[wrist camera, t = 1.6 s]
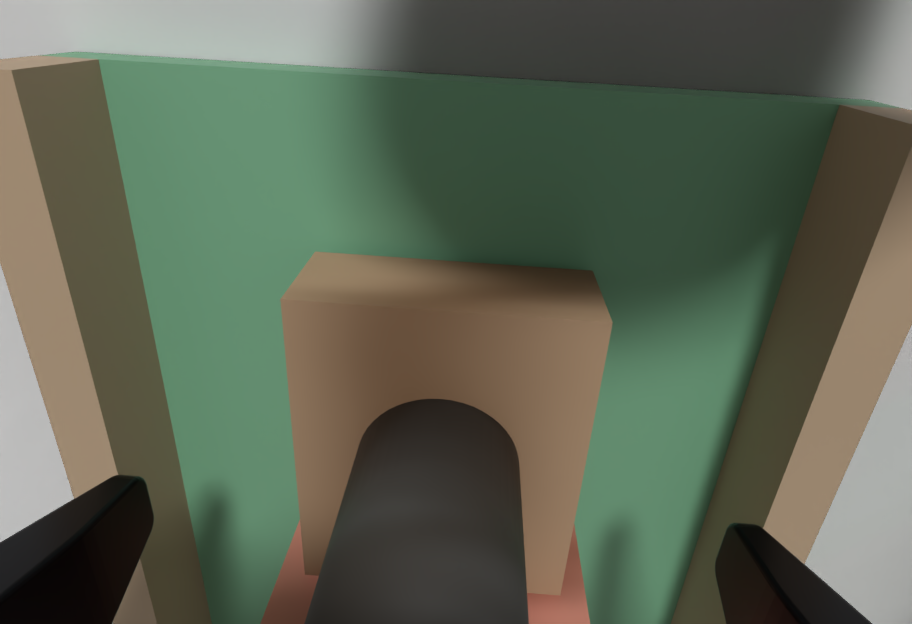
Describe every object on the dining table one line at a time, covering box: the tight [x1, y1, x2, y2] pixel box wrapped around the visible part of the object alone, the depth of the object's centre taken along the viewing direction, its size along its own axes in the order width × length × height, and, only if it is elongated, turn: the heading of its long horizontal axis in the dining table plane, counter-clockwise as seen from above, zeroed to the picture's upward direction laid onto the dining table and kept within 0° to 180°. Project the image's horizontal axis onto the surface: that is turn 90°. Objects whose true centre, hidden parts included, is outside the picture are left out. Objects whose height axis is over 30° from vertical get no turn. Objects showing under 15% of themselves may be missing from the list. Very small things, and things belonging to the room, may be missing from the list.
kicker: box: [260, 252, 613, 624], centre depth 9 cm, size 6×8×7 cm
